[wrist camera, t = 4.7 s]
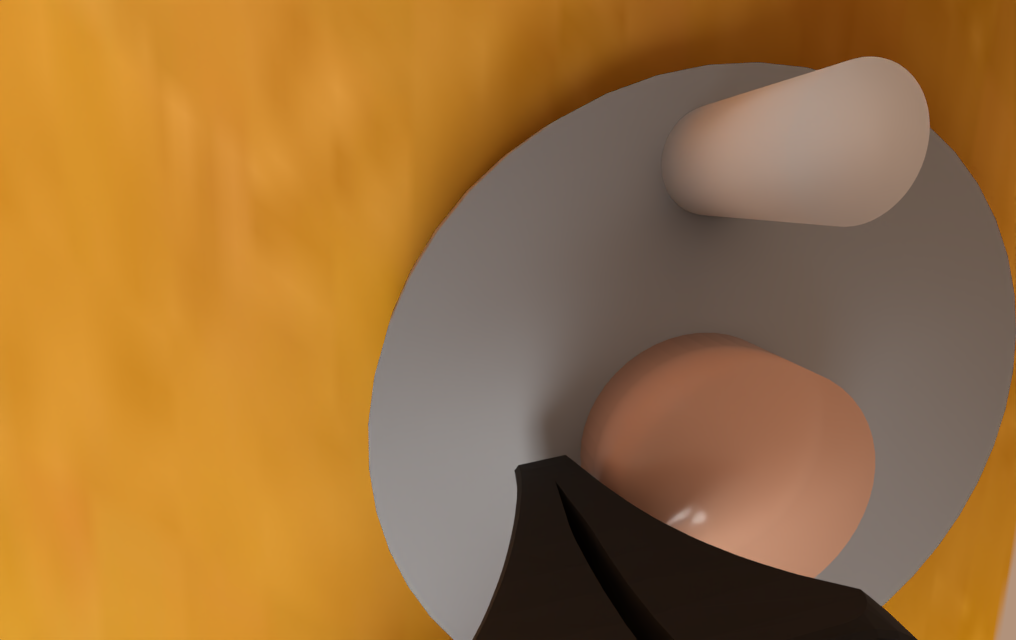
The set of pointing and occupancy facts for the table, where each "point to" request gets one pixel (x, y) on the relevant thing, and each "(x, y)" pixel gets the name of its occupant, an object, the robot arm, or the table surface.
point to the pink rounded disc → (735, 450)
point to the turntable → (697, 304)
